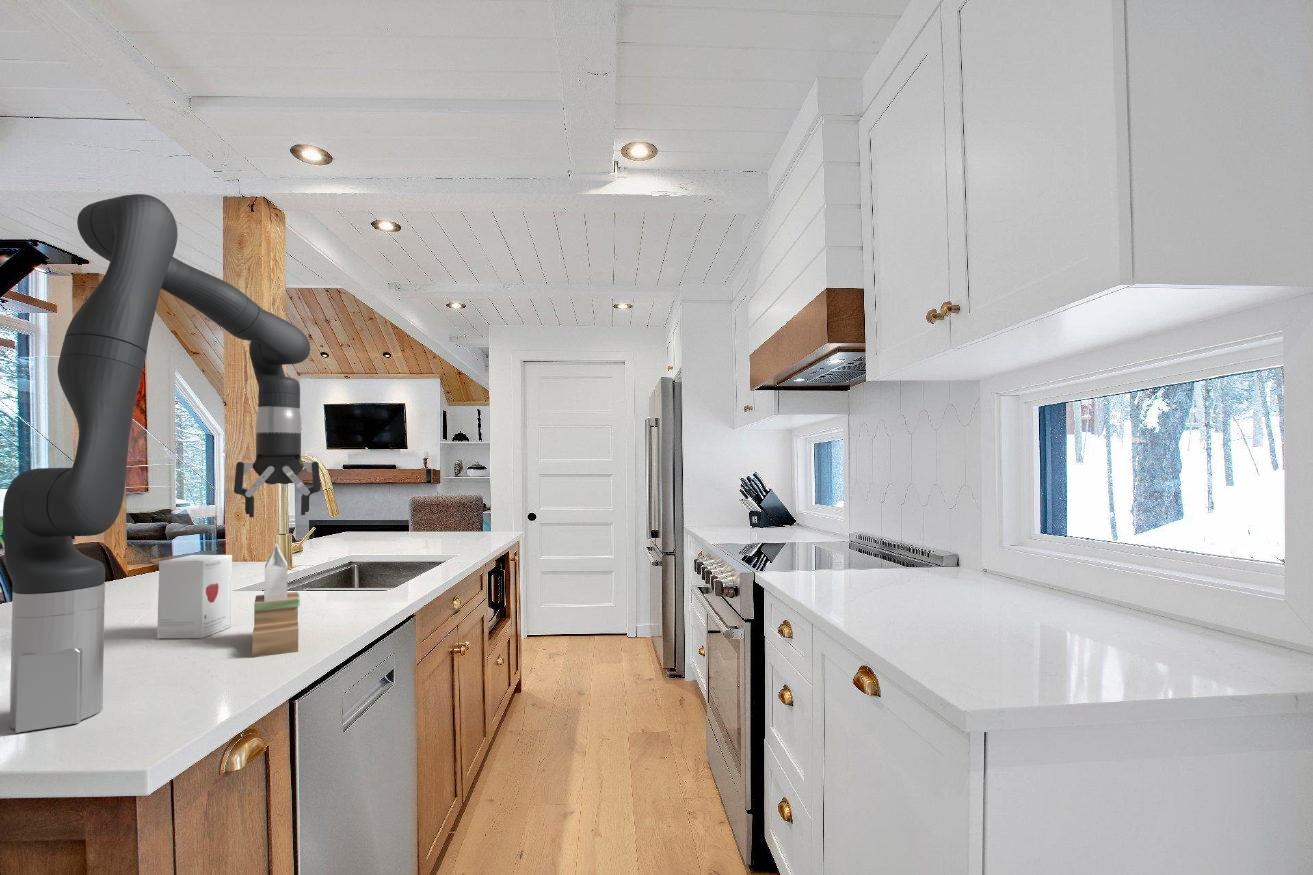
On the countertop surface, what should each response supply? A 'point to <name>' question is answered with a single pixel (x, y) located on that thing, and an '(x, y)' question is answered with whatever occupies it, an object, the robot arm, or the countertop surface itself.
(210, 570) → the supplement box
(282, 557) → the white milk carton
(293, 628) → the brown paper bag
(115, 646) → the countertop surface
